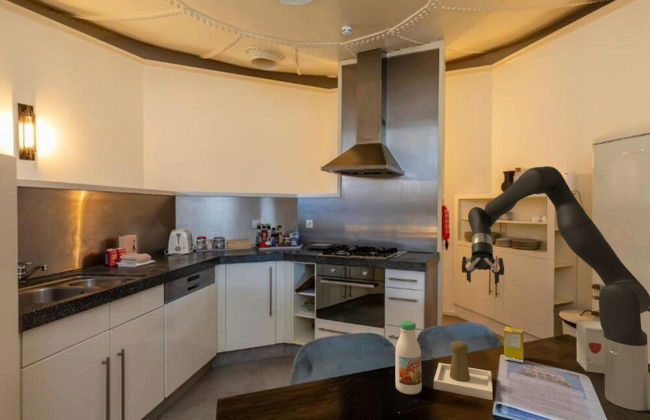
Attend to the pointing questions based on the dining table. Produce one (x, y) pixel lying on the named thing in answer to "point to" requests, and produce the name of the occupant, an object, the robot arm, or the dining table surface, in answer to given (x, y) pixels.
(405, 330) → the milk bottle
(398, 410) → the dining table surface
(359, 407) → the dining table surface
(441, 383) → the tray
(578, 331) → the supplement box
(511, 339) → the supplement box
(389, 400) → the dining table surface
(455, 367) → the cork
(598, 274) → the robot arm
